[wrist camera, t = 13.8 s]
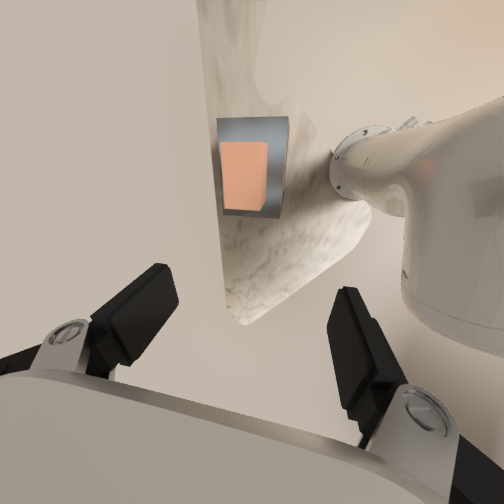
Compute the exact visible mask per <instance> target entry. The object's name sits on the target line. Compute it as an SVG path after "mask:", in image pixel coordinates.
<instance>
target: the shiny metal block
mask: <svg viewBox="0 0 504 504" xmlns="http://www.w3.org/2000/svg"><path fill="white" fill-rule="evenodd" d="M216 119H217V133H218V146H219V160H220V174H221V187H222V201H223V214H224V215H236V216H250V217H265V218H280V213H281V208H282V203H283V193H284V182H285V171H286V160H287V149H288V138H289V119H288V116H281V117H242V118H216ZM220 142H264V143H267V144H268V154H267V177H266V201H265V202H264V204H263V206H262V208H261V210H260V211H255V210H239V209H225V205H224V191H223V177H222V162H221V148H220Z"/></svg>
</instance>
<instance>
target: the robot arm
mask: <svg viewBox="0 0 504 504" xmlns="http://www.w3.org/2000/svg"><path fill="white" fill-rule="evenodd" d="M417 123H418V121H417V119H416V118H415V117H413V116H412V117H411V118H410V119H408V120H407V121H406V122H405V123H404V124H403V125H402V126H401V127H400V128H398V129H391V128H389V127H385V126H377V125H374V126H368V127H365V128H362V129H359V130H357V131H355V132H354V133H352V134H350V135H349V136H348V137H346V138H345V139H344V140H343V141H342V142H341V143H340V145H339V146H338V147H337V148H336V150H335V152H334V154H333V155H332V158H331V161H330V165H329V179H330V182H331V185H332V187H333V188H334V189H335V191H336V192H337V193H338V194H340V195H341V196H343V197H345V198H348V199H353V200H362V199H363V200H364V201H366V202H367V203H369V204H370V205H372V206H373V207H375V208H377V209H378V210H380V211H381V212H383V213H385V214H388V215H391V216H396V217H405V226H404V250H403V262H402V274H401V293H402V298H403V300H404V303H405V305H406V307H407V309H408V310H409V311H410V313H411V314H412V315H413V316H414V317H415V318H416V319H417V320H419V321H420V322H421V323H423V324H424V325H425V326H427V327H428V328H430V329H432V330H433V331H435V332H437V333H439V334H441V335H443V336H445V337H447V338H449V339H451V340H453V341H456V342H458V343H461V344H463V345H466V346H468V347H472V348H474V349H477V350H480V351H483V352H486V353H489V354H492V355H496V356H499V357H502V358H504V96H502V97H500V98H497V99H495V100H493V101H491V102H488V103H486V104H484V105H481V106H479V107H477V108H474V109H472V110H470V111H467V112H465V113H463V114H460V115H458V116H455V117H453V118H450V119H446V120H443V121H439V122H435V123H433V122H430V121H427V122H426V123H425V124H423V125H422V126H418V127H413V126H414V125H415V124H417ZM412 127H413V128H412ZM363 131H364V132H365V134H364V135H363V134H362V132H363ZM335 157H337V159H336V160H335ZM337 186H339V188H337ZM178 303H179V300H178V296H177V292H176V288H175V285H174V281H173V277H172V273H171V270H170V268H169V267H168V265H167V264H161V263H155V264H154V265H153V266H152V267H150V268H149V269H148V270H146V271H145V272H144V273H143V274H141V275H140V276H139V277H138V278H137V279H135V280H134V281H133V282H132V283H130V284H129V285H128V286H127V287H125V288H124V289H123V290H122V291H120V292H119V293H118V294H117V295H116V296H114V298H112V299H111V300H109V301H108V302H107V303H106V304H104V305H103V306H102V307H101V308H100V309H98V310H97V311H96V312H95V313H93V314H92V315H91V316H90V317H91V319H92V321H91V322H90V323H89V322H88V321H87V320H85V319H76V320H72V321H70V322H67V323H64V324H63V325H61V326H59V327H57V328H56V329H54V330H53V331H52V332H50V333H49V334H48V335H47V336H46V338H45V339H44V341H43V343H42V344H40V345H37V346H34V347H31V348H29V349H26V350H23V351H21V352H18V353H15V354H12V355H10V356H7V357H4V358H2V359H0V504H504V470H503V469H501V468H500V467H499V466H498V465H497V464H495V463H494V462H493V461H492V460H491V459H489V458H488V457H487V456H486V455H484V454H483V453H482V452H481V451H480V450H478V449H477V448H476V447H475V446H474V445H472V444H471V443H470V442H469V441H468V440H466V439H465V438H464V437H463V436H461V435H460V434H459V429H458V426H457V424H456V421H455V419H454V417H453V416H452V415H451V413H450V411H449V410H448V409H447V408H446V407H445V406H444V405H443V403H442V402H441V401H440V400H438V399H437V398H436V397H435V396H434V395H432V394H431V393H430V392H428V391H426V390H425V389H423V388H421V387H419V386H416V385H413V384H409V383H408V382H407V379H406V378H405V376H404V374H403V371H402V369H401V367H400V366H399V364H398V362H397V360H396V358H395V356H394V354H393V352H392V350H391V348H390V346H389V344H388V342H387V340H386V338H385V336H384V334H383V332H382V330H381V328H380V326H379V324H378V322H377V320H376V319H374V318H371V316H370V314H369V312H368V310H367V308H366V306H365V303H364V301H363V299H362V297H361V295H360V293H359V291H358V289H357V288H354V287H346V286H344V287H343V288H342V289H339V290H338V292H337V295H336V299H335V302H334V305H333V308H332V311H331V314H330V317H329V320H328V324H327V334H328V338H329V344H330V349H331V355H332V359H333V365H334V370H335V375H336V380H337V386H338V391H339V396H340V401H341V406H342V408H343V409H346V410H347V415H348V419H350V420H354V421H357V422H358V426H359V430H360V432H361V433H362V435H361V437H360V439H359V441H358V443H357V445H356V447H354V446H352V445H349V444H346V443H343V442H340V441H337V440H334V439H331V438H327V437H323V436H320V435H317V434H313V433H310V432H306V431H302V430H299V429H296V428H292V427H288V426H285V425H281V424H277V423H273V422H270V421H266V420H262V419H258V418H254V417H251V416H246V415H243V414H239V413H236V412H231V411H227V410H224V409H220V408H216V407H213V406H209V405H205V404H201V403H197V402H194V401H190V400H186V399H182V398H178V397H174V396H170V395H166V394H163V393H158V392H155V391H151V390H147V389H143V388H139V387H135V386H131V385H127V384H123V383H119V382H115V381H114V377H115V368H116V365H117V364H118V363H120V364H121V365H124V366H129V367H130V366H131V365H132V363H133V362H134V361H135V360H137V359H138V358H139V357H140V356H141V355H142V353H143V352H144V350H145V349H146V348H147V346H148V345H149V344H150V343H151V341H152V340H153V338H154V337H155V336H156V334H157V333H158V332H159V330H160V329H161V328H162V326H163V325H164V324H165V322H166V321H167V320H168V318H169V317H170V316H171V314H172V313H173V312H174V310H175V309H176V308H177V306H178Z"/></svg>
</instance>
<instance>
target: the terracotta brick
mask: <svg viewBox="0 0 504 504" xmlns="http://www.w3.org/2000/svg"><path fill="white" fill-rule="evenodd" d="M220 148H221V162H222V177H223V191H224V205H225V209H239V210H255V211H260V210H261V208H262V206H263V204H264V202H265V201H266V177H267V154H268V144H267V143H264V142H220Z"/></svg>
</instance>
